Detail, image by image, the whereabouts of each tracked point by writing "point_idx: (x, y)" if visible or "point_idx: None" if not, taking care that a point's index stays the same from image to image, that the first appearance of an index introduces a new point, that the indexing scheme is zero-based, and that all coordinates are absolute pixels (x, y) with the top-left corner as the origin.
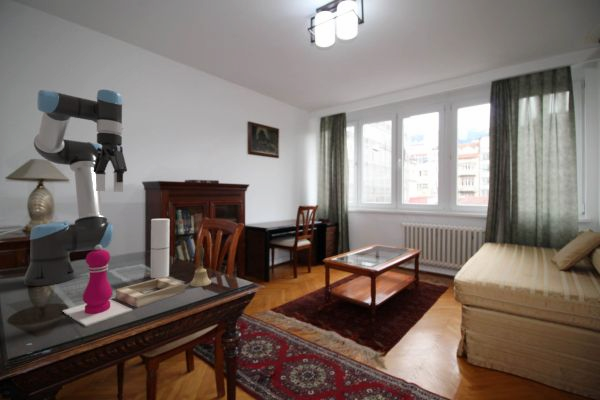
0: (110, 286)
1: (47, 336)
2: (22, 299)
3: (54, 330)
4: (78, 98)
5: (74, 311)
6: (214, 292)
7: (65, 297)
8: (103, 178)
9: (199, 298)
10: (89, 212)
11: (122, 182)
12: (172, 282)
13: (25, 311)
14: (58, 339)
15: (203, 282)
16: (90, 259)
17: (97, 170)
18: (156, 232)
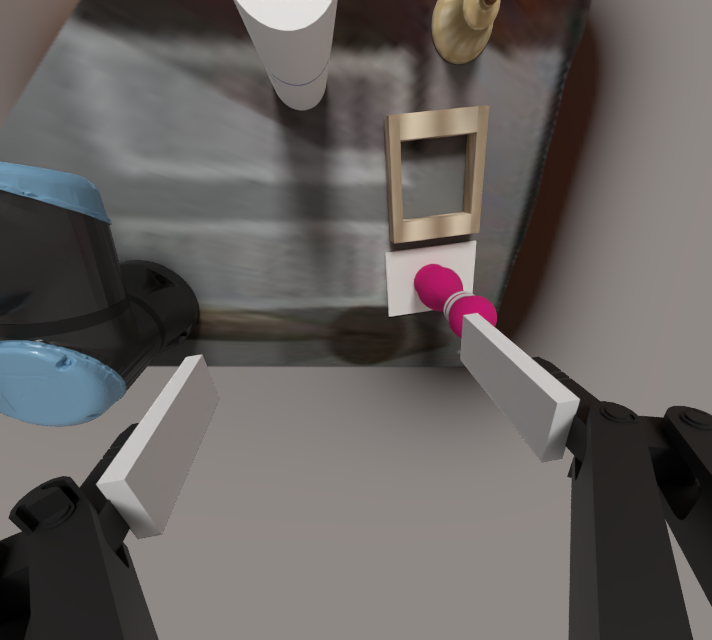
0: (453, 275)
1: (457, 337)
2: (273, 349)
3: (447, 330)
4: None
5: (408, 306)
6: (546, 52)
7: (314, 301)
8: (157, 446)
9: (539, 111)
10: None
11: (517, 350)
12: (454, 123)
13: (342, 349)
14: None
15: (489, 29)
16: None
17: (138, 582)
18: (320, 47)
